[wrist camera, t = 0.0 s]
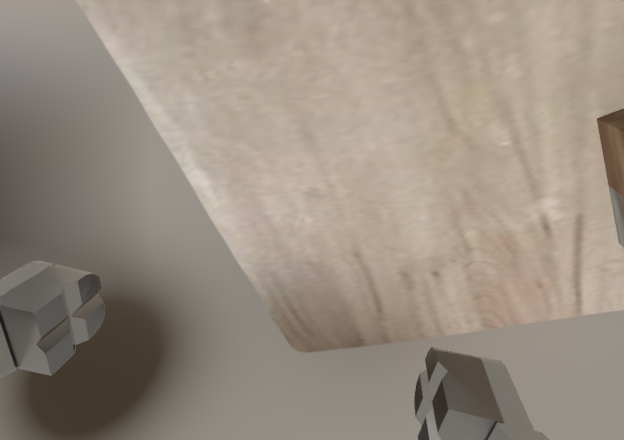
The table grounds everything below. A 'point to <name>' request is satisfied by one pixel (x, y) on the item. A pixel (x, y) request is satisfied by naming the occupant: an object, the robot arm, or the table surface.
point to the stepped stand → (614, 163)
